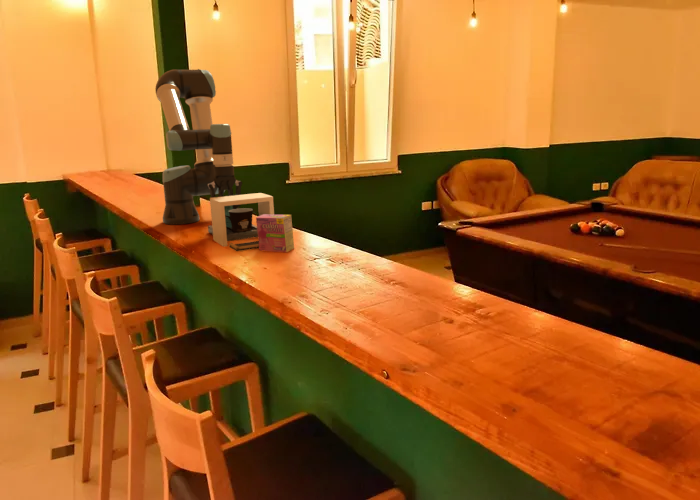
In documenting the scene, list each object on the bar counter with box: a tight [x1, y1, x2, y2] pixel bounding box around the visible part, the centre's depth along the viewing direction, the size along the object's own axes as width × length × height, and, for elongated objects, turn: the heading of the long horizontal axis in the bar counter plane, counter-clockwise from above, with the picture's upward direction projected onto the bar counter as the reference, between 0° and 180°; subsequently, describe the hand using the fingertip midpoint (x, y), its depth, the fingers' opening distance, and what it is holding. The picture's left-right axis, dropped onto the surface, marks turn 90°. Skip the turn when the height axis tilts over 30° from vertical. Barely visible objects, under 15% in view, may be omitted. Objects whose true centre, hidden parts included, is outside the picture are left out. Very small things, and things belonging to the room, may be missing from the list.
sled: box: [207, 205, 258, 242], centre depth 210 cm, size 20×15×13 cm
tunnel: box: [209, 192, 275, 247], centre depth 201 cm, size 12×19×16 cm, turn 119°
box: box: [255, 214, 295, 253], centre depth 186 cm, size 10×6×12 cm, turn 68°
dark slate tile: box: [228, 240, 259, 252], centre depth 193 cm, size 8×16×1 cm, turn 119°
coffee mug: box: [225, 207, 254, 233], centre depth 206 cm, size 12×9×10 cm
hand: (228, 225), depth 218 cm, fingers closed on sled, 3 cm apart
